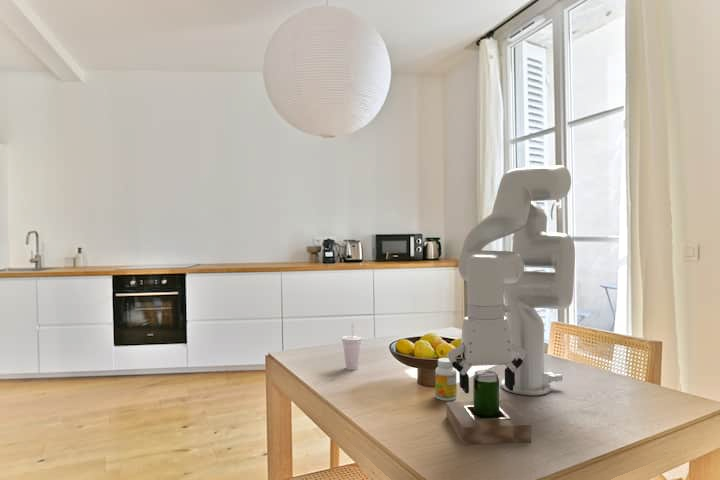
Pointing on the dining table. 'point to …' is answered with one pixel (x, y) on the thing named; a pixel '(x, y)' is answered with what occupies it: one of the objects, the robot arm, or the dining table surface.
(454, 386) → the supplement bottle
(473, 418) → the jig bore mouth
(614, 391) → the dining table surface
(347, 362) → the smoothie
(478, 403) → the beer can
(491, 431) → the block
